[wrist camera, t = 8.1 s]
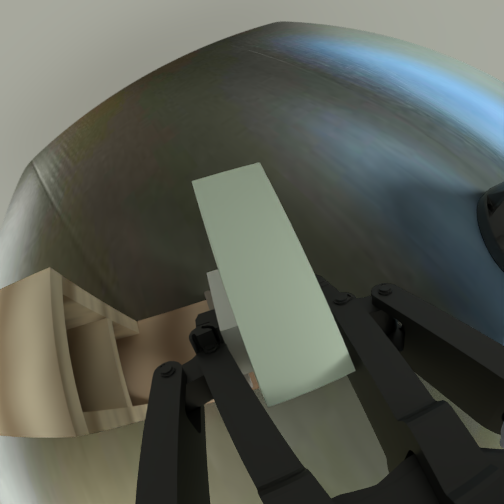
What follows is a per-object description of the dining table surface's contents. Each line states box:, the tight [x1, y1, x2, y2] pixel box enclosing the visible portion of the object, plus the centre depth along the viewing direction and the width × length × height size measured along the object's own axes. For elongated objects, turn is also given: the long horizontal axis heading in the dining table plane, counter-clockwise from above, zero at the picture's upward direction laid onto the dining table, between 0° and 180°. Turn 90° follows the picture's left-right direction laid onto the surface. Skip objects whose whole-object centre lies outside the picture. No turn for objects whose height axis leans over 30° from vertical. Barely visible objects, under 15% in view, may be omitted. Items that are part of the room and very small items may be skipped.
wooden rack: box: [0, 267, 259, 438], centre depth 18 cm, size 25×9×15 cm, turn 109°
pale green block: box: [192, 162, 356, 407], centre depth 15 cm, size 4×9×11 cm, turn 19°
